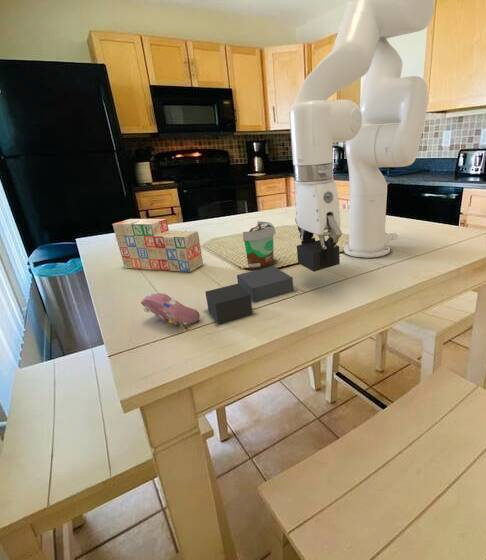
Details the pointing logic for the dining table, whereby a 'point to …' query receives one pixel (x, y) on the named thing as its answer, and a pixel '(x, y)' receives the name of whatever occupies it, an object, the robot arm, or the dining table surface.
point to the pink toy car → (169, 309)
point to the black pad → (229, 303)
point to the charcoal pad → (313, 255)
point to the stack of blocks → (157, 246)
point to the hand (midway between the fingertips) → (318, 260)
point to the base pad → (265, 283)
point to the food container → (259, 245)
